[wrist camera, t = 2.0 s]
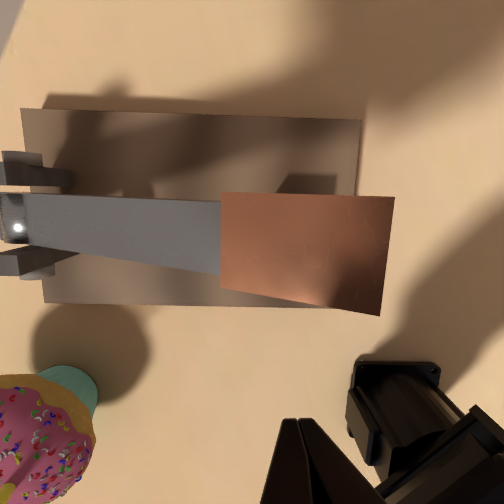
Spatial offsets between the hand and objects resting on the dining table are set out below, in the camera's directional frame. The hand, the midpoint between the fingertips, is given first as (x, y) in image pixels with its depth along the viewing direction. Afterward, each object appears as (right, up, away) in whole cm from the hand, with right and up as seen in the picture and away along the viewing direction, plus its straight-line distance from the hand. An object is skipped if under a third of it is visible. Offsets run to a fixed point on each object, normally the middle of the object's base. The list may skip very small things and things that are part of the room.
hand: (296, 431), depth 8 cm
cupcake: (-16, -6, +15) cm, 22 cm away
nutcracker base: (-5, +7, +12) cm, 15 cm away
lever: (-5, +6, +5) cm, 10 cm away
